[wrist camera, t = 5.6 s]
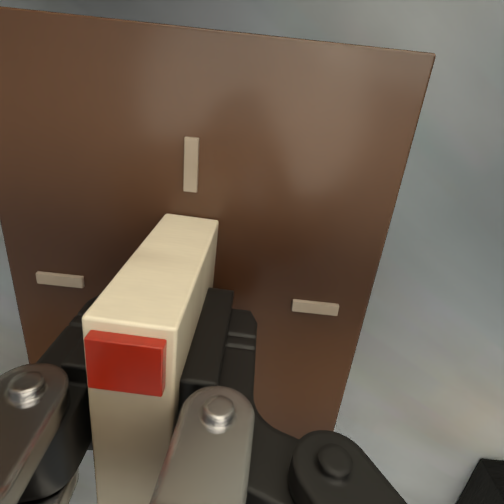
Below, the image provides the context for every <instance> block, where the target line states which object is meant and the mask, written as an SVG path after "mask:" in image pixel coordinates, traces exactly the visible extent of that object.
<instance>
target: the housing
mask: <svg viewBox="0 0 504 504" xmlns="http://www.w3.org/2000/svg"><path fill="white" fill-rule="evenodd" d="M457 504H504V461H496V460H487V459H481V460H480V462H479V464H478V466H477V467H476V469H475V471H474V473H473V475H472V477H471V479H470V480H469V482H468V484H467V486H466V488H465V490H464V492H463V493H462V495H461V497H460V499H459V501H458V503H457Z"/></svg>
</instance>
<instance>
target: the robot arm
mask: <svg viewBox="0 0 504 504" xmlns="http://www.w3.org/2000/svg"><path fill="white" fill-rule="evenodd" d="M99 295H100V294H99ZM99 295H97V296H96V297H94V298H92V299H90V300H89V301H87V303H86V304H85V305H84V306H83V307H82V309H81V310H80V311H79V312H78V315H76V316H75V317H74V318H73V319H72V321H71V322H70V323H69V326H66V328H65V329H64V330H63V331H62V332H61V334H60V335H59V336H58V337H57V338H56V340H55V341H54V342H53V343H52V344H51V346H50V347H49V348H48V349H47V350H46V352H45V353H44V354H43V355H42V356H41V357H40V359H39V360H38V361H37V362H36V363H33V364H27V365H23V366H20V367H17V368H14V369H12V370H10V371H8V372H6V373H4V374H2V375H1V376H0V504H69V502H70V499H71V497H72V495H73V492H74V490H75V488H76V485H77V482H78V478H79V468H78V467H79V465H80V463H81V461H82V459H83V457H84V455H85V453H86V451H87V450H93V445H92V433H91V421H90V410H89V398H88V386H87V375H86V363H85V352H84V340H83V328H82V317H83V315H84V314H85V312H86V311H87V310H88V309H89V307H90V306H91V305H92V304H93V303H94V301H95V300H96V299H97V298H98V296H99ZM233 297H234V291H233V290H226V289H218V288H210V287H209V288H208V291H207V294H206V297H205V301H204V304H203V307H202V310H201V314H200V317H199V320H198V323H197V327H196V330H195V333H194V336H193V340H192V343H191V346H190V349H189V353H188V356H187V359H186V362H185V366H184V369H183V372H182V376H181V379H180V389H179V407H178V421H177V424H176V426H175V429H174V432H173V435H172V438H171V441H170V444H169V447H168V450H167V453H166V456H165V459H164V462H163V465H162V468H161V471H160V474H159V477H158V480H157V483H156V486H155V489H154V492H153V495H152V498H151V501H150V503H149V504H407V503H406V502H405V501H404V499H403V498H402V497H401V496H400V495H399V493H398V492H397V491H396V490H395V489H394V487H393V486H392V485H391V484H390V483H389V481H388V480H387V479H386V478H385V477H384V475H383V474H382V473H381V472H380V471H379V469H378V468H377V467H376V466H375V465H374V463H373V462H372V461H371V460H370V459H369V457H368V456H367V455H366V454H365V453H364V451H363V450H362V449H361V448H360V447H359V446H358V445H357V444H356V443H354V442H353V441H352V440H350V439H349V438H347V437H346V436H344V435H341V434H339V433H336V432H333V431H328V430H317V431H312V432H309V433H307V434H305V435H304V436H303V437H301V438H300V439H297V438H295V437H292V436H290V435H288V434H286V433H283V432H281V431H279V430H277V429H275V428H274V427H272V426H271V425H269V424H268V423H267V422H266V421H265V420H264V419H263V418H262V417H261V415H260V414H259V412H258V411H257V409H256V406H255V403H254V396H253V394H254V375H255V357H256V337H257V322H256V320H255V318H254V316H253V314H252V313H251V311H248V310H240V309H233V308H232V306H233Z"/></svg>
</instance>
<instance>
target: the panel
mask: <svg viewBox="0 0 504 504" xmlns="http://www.w3.org/2000/svg"><path fill="white" fill-rule="evenodd" d="M434 60H435V54H434V53H427V52H418V51H409V50H400V49H390V48H381V47H372V46H362V45H353V44H344V43H335V42H325V41H316V40H307V39H297V38H288V37H279V36H270V35H260V34H251V33H242V32H233V31H223V30H214V29H205V28H195V27H186V26H177V25H168V24H158V23H149V22H140V21H130V20H121V19H112V18H103V17H93V16H84V15H75V14H66V13H56V12H47V11H38V10H28V9H19V8H10V7H1V6H0V221H1V226H2V231H3V236H4V241H5V246H6V251H7V256H8V261H9V266H10V271H11V275H12V280H13V285H14V290H15V295H16V300H17V305H18V310H19V315H20V320H21V325H22V330H23V335H24V340H25V344H26V349H27V354H28V359H29V364H33V363H36V362H37V361H38V360H39V359H40V357H41V356H42V355H43V354H44V353H45V352H46V350H47V349H48V348H49V347H50V346H51V344H52V343H53V342H54V341H55V340H56V338H57V337H58V336H59V335H60V334H61V332H62V331H63V330H64V329H65V328H66V326H69V323H70V322H71V321H72V319H73V318H74V317H75V316H76V315H78V312H79V311H80V310H81V309H82V307H83V306H84V305H85V304H86V303H87V301H89V300H90V299H92V298H94V297H96V296H97V295H99V294H101V293H102V291H103V290H104V289H105V288H106V287H107V285H108V284H109V283H110V282H111V280H112V279H113V278H114V277H115V275H116V274H117V273H118V272H119V271H120V269H121V268H122V267H123V266H124V264H125V263H126V262H127V261H128V259H129V258H130V257H131V256H132V255H133V253H134V252H135V251H136V250H137V248H138V247H139V246H140V245H141V243H142V242H143V241H144V240H145V239H146V237H147V236H148V235H149V234H150V232H151V231H152V230H153V229H154V227H155V226H156V225H157V224H158V223H159V221H160V220H161V219H162V218H163V216H164V215H165V214H175V215H182V216H190V217H197V218H205V219H212V220H218V222H219V226H218V237H217V247H216V258H215V269H214V280H213V288H218V289H226V290H233V291H234V297H233V306H232V308H233V309H240V310H248V311H251V313H252V314H253V316H254V318H255V320H256V322H257V337H256V357H255V375H254V394H253V396H254V403H255V406H256V409H257V411H258V412H259V414H260V415H261V417H262V418H263V419H264V420H265V421H266V422H267V423H268V424H269V425H271V426H272V427H274V428H275V429H277V430H279V431H281V432H283V433H286V434H288V435H290V436H292V437H295V438H297V439H300V438H301V437H303V436H304V435H305V434H307V433H309V432H312V431H317V430H328V431H333V430H334V427H335V423H336V419H337V416H338V412H339V408H340V405H341V401H342V397H343V394H344V390H345V386H346V383H347V379H348V375H349V372H350V368H351V364H352V361H353V357H354V353H355V350H356V346H357V342H358V339H359V335H360V331H361V328H362V324H363V320H364V317H365V313H366V309H367V306H368V302H369V298H370V295H371V291H372V287H373V284H374V280H375V276H376V273H377V269H378V266H379V262H380V258H381V255H382V251H383V247H384V244H385V240H386V236H387V233H388V229H389V225H390V222H391V218H392V214H393V211H394V207H395V203H396V200H397V196H398V192H399V189H400V185H401V181H402V178H403V174H404V170H405V167H406V163H407V159H408V156H409V152H410V148H411V145H412V141H413V137H414V134H415V130H416V126H417V123H418V119H419V115H420V112H421V108H422V104H423V101H424V97H425V93H426V90H427V86H428V82H429V79H430V75H431V71H432V68H433V64H434Z"/></svg>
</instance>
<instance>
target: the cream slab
mask: <svg viewBox="0 0 504 504" xmlns="http://www.w3.org/2000/svg"><path fill="white" fill-rule="evenodd" d="M218 226H219V222H218V220H212V219H205V218H197V217H190V216H182V215H175V214H165V215H164V216H163V218H162V219H161V220H160V221H159V223H158V224H157V225H156V226H155V227H154V229H153V230H152V231H151V232H150V234H149V235H148V236H147V237H146V239H145V240H144V241H143V242H142V243H141V245H140V246H139V247H138V248H137V250H136V251H135V252H134V253H133V255H132V256H131V257H130V258H129V259H128V261H127V262H126V263H125V264H124V266H123V267H122V268H121V269H120V271H119V272H118V273H117V274H116V275H115V277H114V278H113V279H112V280H111V282H110V283H109V284H108V285H107V287H106V288H105V289H104V290H103V291H102V293H101V294H100V295H99V296H98V298H97V299H96V300H95V301H94V303H93V304H92V305H91V306H90V307H89V309H88V310H87V311H86V312H85V314H84V315H83V317H82V328H83V340H84V352H85V363H86V375H87V386H88V398H89V410H90V421H91V433H92V445H93V456H94V468H95V480H96V491H97V503H98V504H149V503H150V501H151V498H152V495H153V492H154V489H155V486H156V483H157V480H158V477H159V474H160V471H161V468H162V465H163V462H164V459H165V456H166V453H167V450H168V447H169V444H170V441H171V438H172V435H173V432H174V429H175V426H176V424H177V421H178V407H179V389H180V379H181V376H182V372H183V369H184V366H185V362H186V359H187V356H188V353H189V349H190V346H191V343H192V340H193V336H194V333H195V330H196V327H197V323H198V320H199V317H200V314H201V310H202V307H203V304H204V301H205V297H206V294H207V291H208V288H209V287H210V288H213V280H214V269H215V258H216V247H217V237H218Z"/></svg>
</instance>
